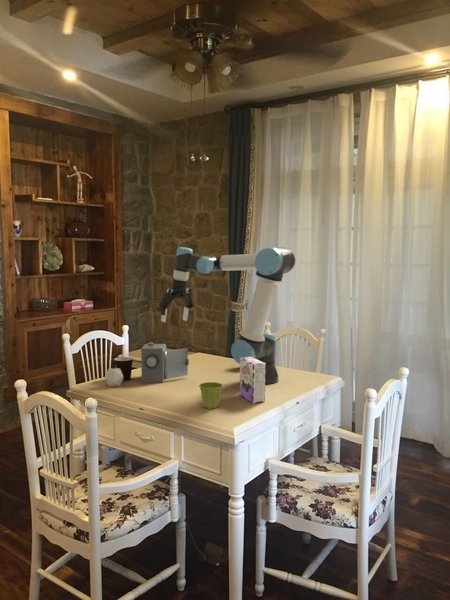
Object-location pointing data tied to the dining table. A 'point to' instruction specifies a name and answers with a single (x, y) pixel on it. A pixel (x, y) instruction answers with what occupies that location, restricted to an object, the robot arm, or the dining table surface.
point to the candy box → (252, 379)
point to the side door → (175, 363)
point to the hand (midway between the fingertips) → (174, 320)
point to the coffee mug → (124, 366)
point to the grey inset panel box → (152, 362)
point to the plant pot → (211, 394)
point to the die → (114, 377)
